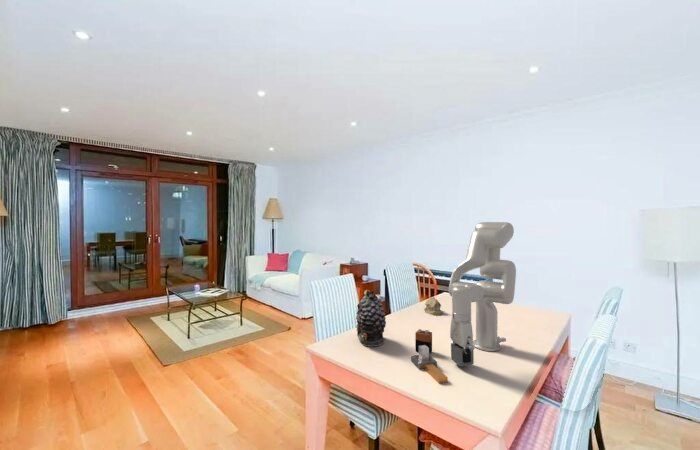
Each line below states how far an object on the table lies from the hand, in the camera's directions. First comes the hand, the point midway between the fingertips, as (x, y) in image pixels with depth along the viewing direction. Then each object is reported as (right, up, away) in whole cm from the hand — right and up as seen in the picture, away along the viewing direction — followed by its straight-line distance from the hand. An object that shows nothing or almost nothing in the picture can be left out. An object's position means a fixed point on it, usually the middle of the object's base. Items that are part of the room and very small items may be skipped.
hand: (462, 358), depth 134 cm
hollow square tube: (0, -2, 0) cm, 2 cm away
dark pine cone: (-36, -3, +29) cm, 47 cm away
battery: (-13, -3, +15) cm, 20 cm away
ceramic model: (+8, -2, +77) cm, 78 cm away
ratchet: (-14, -4, -4) cm, 15 cm away
